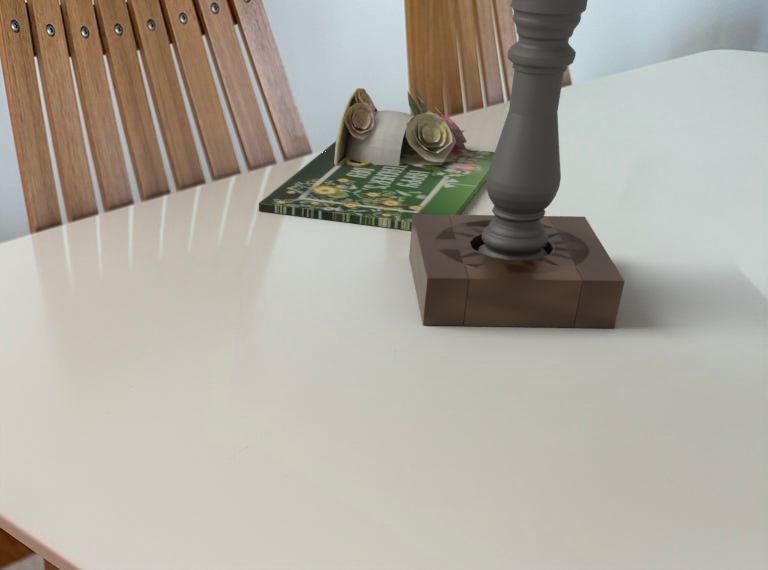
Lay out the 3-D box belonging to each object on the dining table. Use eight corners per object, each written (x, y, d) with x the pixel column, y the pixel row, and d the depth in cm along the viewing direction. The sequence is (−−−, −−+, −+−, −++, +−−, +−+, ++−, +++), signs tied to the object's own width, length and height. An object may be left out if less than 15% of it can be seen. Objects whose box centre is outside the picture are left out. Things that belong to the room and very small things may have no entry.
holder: (576, 259, 99) (584, 216, 97) (614, 328, 87) (624, 281, 84) (408, 257, 99) (412, 213, 97) (422, 325, 87) (427, 278, 85)
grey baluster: (504, 272, 97) (549, -49, 81) (556, 292, 93) (615, -41, 77) (457, 288, 94) (495, -43, 78) (510, 309, 90) (561, -34, 74)
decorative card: (355, 66, 128) (517, 81, 123) (352, 134, 133) (507, 150, 128) (258, 131, 105) (453, 152, 99) (258, 210, 109) (445, 234, 104)
